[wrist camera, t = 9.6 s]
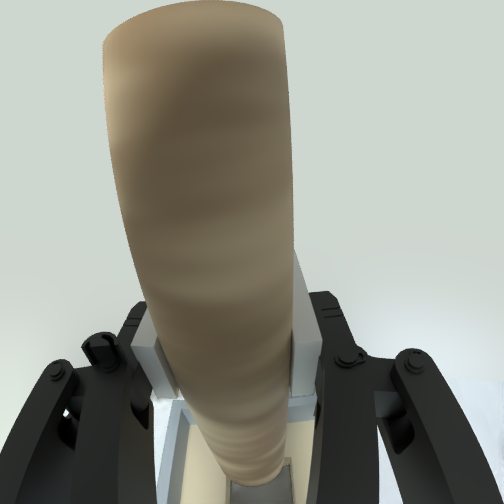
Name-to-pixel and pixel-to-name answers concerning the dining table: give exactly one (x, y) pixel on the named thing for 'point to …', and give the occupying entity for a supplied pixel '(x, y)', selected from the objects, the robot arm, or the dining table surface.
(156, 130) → the peg
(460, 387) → the dining table surface
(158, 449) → the dining table surface
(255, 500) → the dining table surface
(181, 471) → the socket box
